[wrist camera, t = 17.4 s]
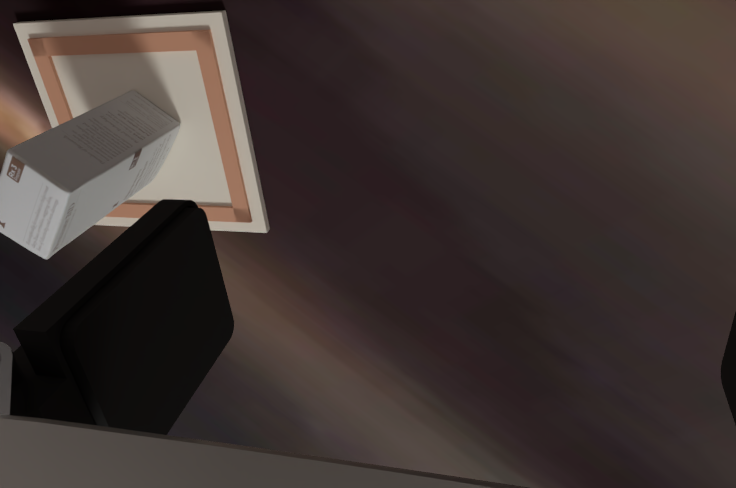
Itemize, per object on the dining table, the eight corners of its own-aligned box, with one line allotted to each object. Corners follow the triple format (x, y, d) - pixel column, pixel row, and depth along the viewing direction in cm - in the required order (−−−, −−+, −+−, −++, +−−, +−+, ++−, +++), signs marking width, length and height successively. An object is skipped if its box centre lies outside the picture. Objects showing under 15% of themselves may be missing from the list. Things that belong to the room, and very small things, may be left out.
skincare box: (156, 181, 46) (49, 268, 36) (105, 146, 46) (-18, 226, 36) (185, 120, 43) (75, 198, 33) (130, 81, 42) (1, 149, 32)
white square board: (19, 21, 43) (9, 24, 42) (225, 10, 38) (219, 13, 38) (93, 221, 51) (86, 226, 50) (269, 228, 47) (265, 234, 46)
